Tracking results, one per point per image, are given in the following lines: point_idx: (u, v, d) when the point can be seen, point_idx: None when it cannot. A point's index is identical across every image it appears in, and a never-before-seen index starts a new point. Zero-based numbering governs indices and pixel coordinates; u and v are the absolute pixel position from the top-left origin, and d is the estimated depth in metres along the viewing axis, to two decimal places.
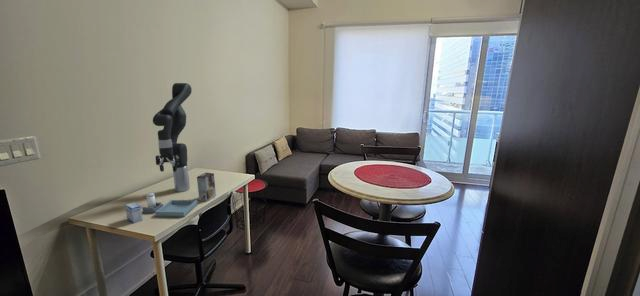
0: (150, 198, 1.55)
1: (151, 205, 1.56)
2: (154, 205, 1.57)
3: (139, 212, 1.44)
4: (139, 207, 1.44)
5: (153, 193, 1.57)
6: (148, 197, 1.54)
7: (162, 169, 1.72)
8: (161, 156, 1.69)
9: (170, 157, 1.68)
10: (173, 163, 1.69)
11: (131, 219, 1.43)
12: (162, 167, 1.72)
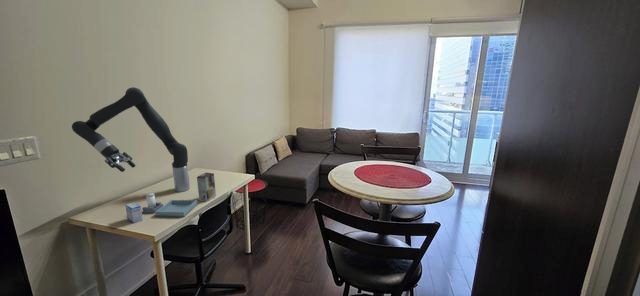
0: (150, 198, 1.55)
1: (151, 205, 1.56)
2: (154, 205, 1.57)
3: (139, 212, 1.44)
4: (139, 207, 1.44)
5: (153, 193, 1.57)
6: (148, 197, 1.54)
7: (132, 165, 1.58)
8: None
9: None
10: None
11: (131, 219, 1.43)
12: (130, 163, 1.58)
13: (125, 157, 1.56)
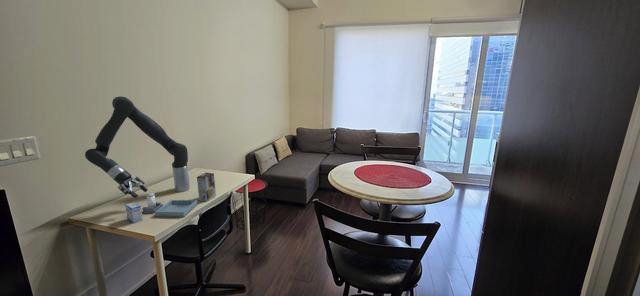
0: (150, 198, 1.55)
1: (151, 205, 1.56)
2: (154, 205, 1.57)
3: (139, 212, 1.44)
4: (139, 207, 1.44)
5: (153, 193, 1.57)
6: (148, 197, 1.54)
7: (144, 190, 1.60)
8: None
9: None
10: None
11: (131, 219, 1.43)
12: (142, 188, 1.59)
13: (137, 182, 1.57)
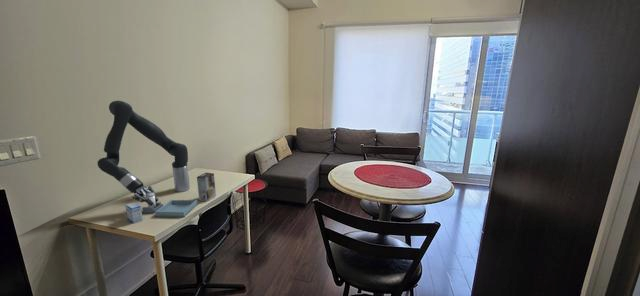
0: (150, 198, 1.55)
1: None
2: (154, 205, 1.57)
3: (139, 212, 1.44)
4: (139, 207, 1.44)
5: (153, 193, 1.57)
6: (148, 197, 1.54)
7: (155, 200, 1.59)
8: None
9: None
10: None
11: (131, 219, 1.43)
12: None
13: (149, 191, 1.58)
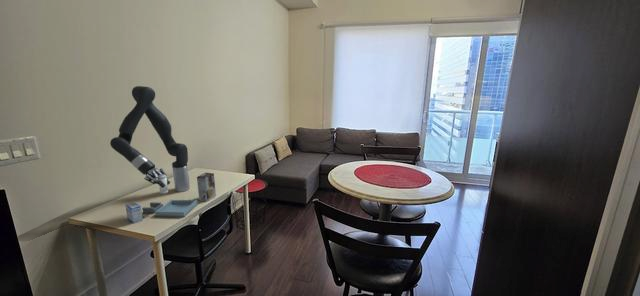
0: (162, 180, 1.52)
1: None
2: (166, 187, 1.54)
3: (139, 212, 1.44)
4: (139, 207, 1.44)
5: (165, 175, 1.54)
6: (160, 179, 1.52)
7: None
8: None
9: None
10: None
11: (131, 219, 1.43)
12: None
13: (160, 173, 1.55)
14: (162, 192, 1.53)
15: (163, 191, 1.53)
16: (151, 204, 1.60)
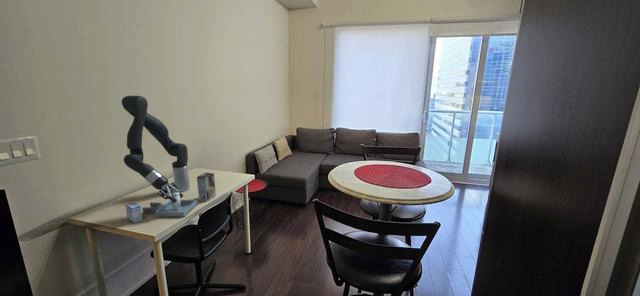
0: (175, 197, 1.54)
1: (176, 204, 1.55)
2: (179, 204, 1.56)
3: (139, 212, 1.44)
4: (139, 207, 1.44)
5: (178, 192, 1.56)
6: (173, 196, 1.54)
7: (180, 195, 1.59)
8: None
9: None
10: None
11: (131, 219, 1.43)
12: None
13: (174, 187, 1.57)
14: (175, 209, 1.56)
15: (176, 208, 1.56)
16: (151, 204, 1.60)
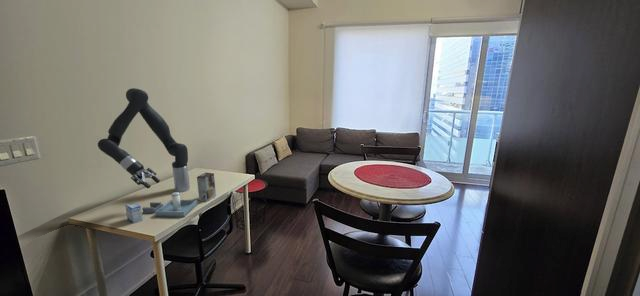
0: (175, 197, 1.54)
1: (176, 204, 1.55)
2: (179, 204, 1.56)
3: (139, 212, 1.44)
4: (139, 207, 1.44)
5: (178, 192, 1.56)
6: (173, 196, 1.54)
7: (156, 181, 1.59)
8: None
9: None
10: None
11: (131, 219, 1.43)
12: (155, 179, 1.59)
13: (150, 173, 1.57)
14: (175, 209, 1.56)
15: (176, 208, 1.56)
16: (151, 204, 1.60)
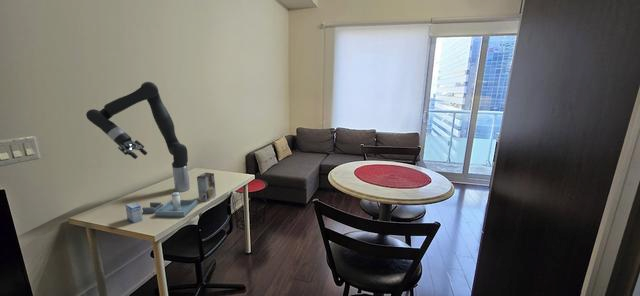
0: (175, 197, 1.54)
1: (176, 204, 1.55)
2: (179, 204, 1.56)
3: (139, 212, 1.44)
4: (139, 207, 1.44)
5: (178, 192, 1.56)
6: (173, 196, 1.54)
7: (144, 153, 1.63)
8: None
9: None
10: None
11: (131, 219, 1.43)
12: (142, 151, 1.63)
13: (137, 145, 1.61)
14: (175, 209, 1.56)
15: (176, 208, 1.56)
16: (151, 204, 1.60)
